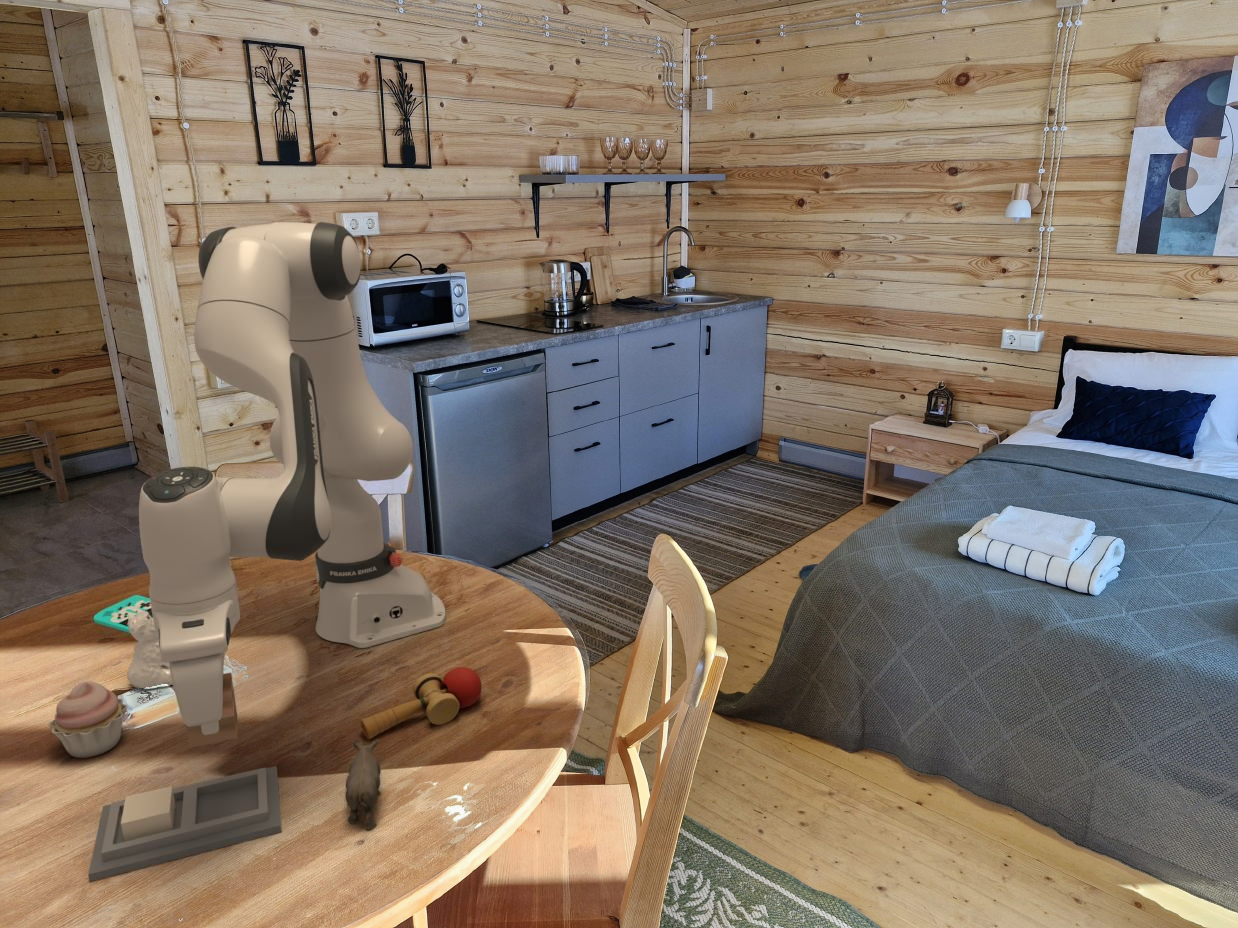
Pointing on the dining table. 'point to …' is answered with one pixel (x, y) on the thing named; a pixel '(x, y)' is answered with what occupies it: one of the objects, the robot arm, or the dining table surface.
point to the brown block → (225, 723)
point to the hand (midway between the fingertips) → (212, 715)
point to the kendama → (430, 700)
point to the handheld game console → (123, 612)
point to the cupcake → (89, 720)
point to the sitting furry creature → (146, 654)
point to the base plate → (185, 821)
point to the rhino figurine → (363, 784)
